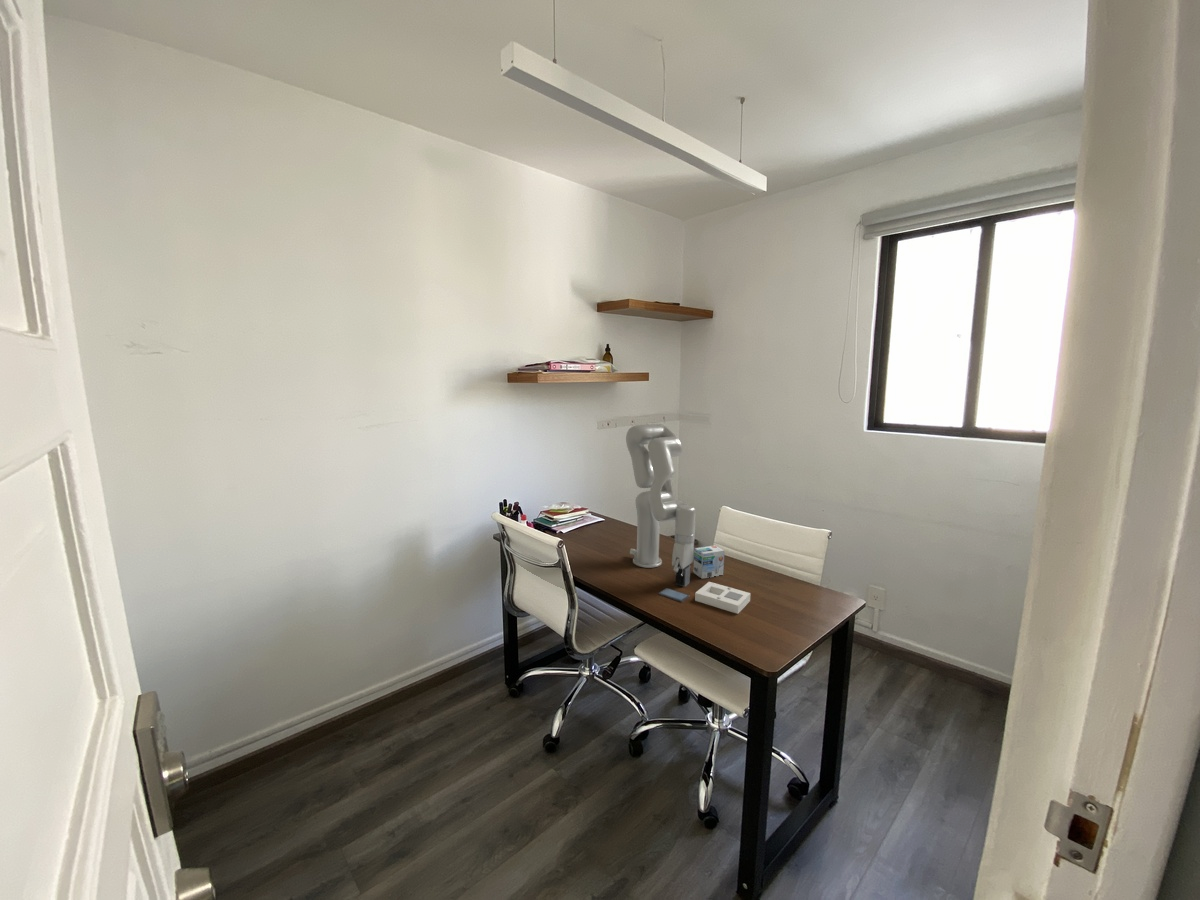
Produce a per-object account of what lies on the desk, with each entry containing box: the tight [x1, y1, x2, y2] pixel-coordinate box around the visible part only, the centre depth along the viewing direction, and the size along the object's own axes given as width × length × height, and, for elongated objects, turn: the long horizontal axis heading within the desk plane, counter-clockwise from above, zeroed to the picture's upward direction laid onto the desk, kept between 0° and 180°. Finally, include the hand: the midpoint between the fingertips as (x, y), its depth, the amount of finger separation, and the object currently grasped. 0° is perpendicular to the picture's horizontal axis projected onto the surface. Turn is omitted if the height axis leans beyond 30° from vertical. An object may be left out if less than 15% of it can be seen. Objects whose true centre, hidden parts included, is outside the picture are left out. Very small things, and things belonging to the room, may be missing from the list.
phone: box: [657, 587, 691, 603], centre depth 177 cm, size 10×6×1 cm, turn 51°
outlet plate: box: [694, 581, 751, 614], centre depth 173 cm, size 16×12×3 cm
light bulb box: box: [692, 544, 725, 579], centre depth 196 cm, size 11×7×11 cm, turn 112°
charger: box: [675, 565, 691, 588], centre depth 186 cm, size 4×4×7 cm
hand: (682, 581), depth 187 cm, fingers open, 4 cm apart
